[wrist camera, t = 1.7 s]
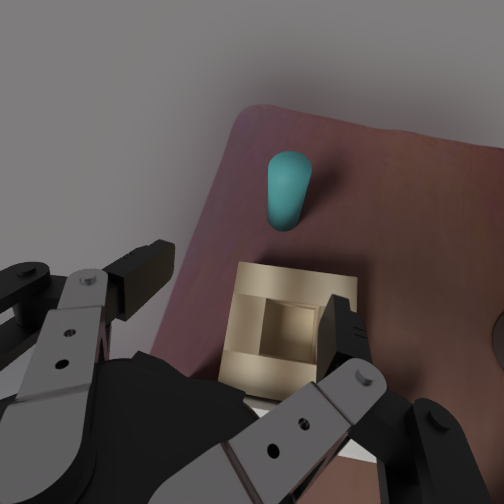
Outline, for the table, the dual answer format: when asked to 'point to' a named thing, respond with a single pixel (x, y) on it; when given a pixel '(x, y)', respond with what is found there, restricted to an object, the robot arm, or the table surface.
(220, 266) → the table surface
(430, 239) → the table surface
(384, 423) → the robot arm
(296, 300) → the socket block
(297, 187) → the teal rounded cylinder
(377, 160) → the table surface
